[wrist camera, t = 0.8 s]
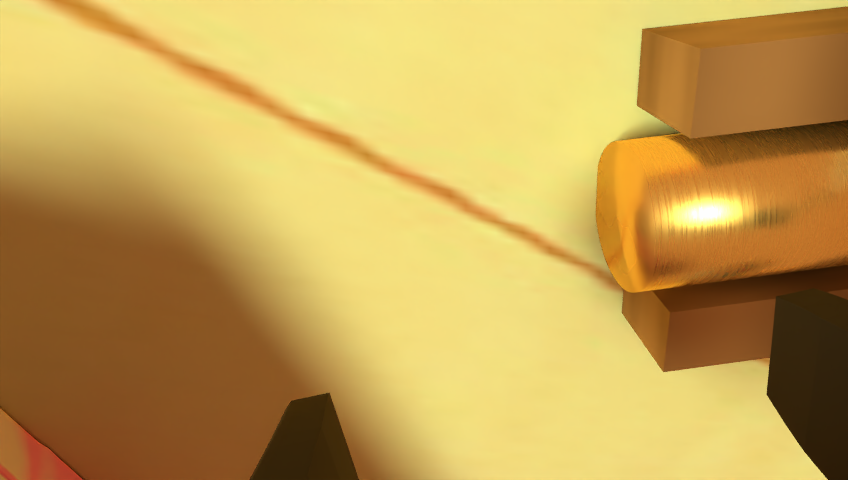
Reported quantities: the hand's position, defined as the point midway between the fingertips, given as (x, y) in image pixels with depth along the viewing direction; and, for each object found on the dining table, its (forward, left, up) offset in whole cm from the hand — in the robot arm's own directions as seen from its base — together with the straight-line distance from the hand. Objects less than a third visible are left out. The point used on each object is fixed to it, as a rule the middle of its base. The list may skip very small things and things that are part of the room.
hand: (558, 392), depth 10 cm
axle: (-9, 0, -7) cm, 11 cm away
